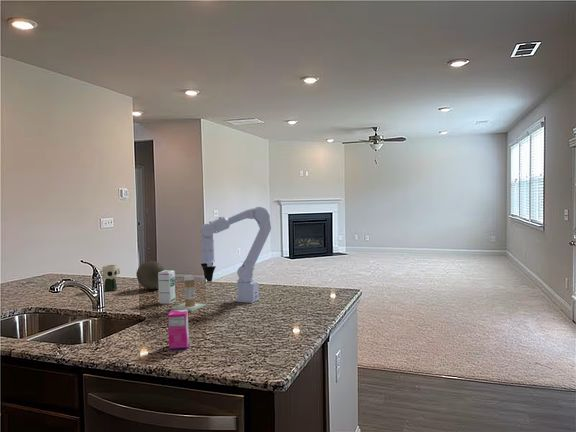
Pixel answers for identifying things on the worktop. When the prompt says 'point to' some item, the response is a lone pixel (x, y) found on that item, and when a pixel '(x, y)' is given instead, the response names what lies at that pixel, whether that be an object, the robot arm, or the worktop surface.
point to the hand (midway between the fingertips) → (208, 280)
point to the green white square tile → (192, 308)
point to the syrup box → (167, 287)
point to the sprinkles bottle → (189, 290)
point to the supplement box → (178, 329)
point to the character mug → (110, 276)
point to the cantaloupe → (149, 274)
